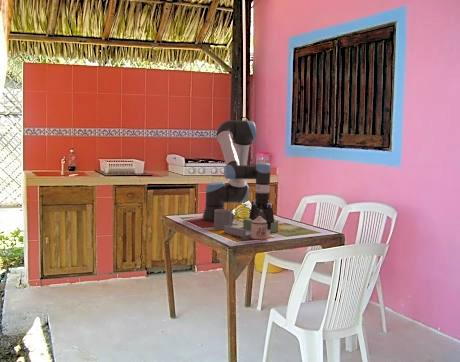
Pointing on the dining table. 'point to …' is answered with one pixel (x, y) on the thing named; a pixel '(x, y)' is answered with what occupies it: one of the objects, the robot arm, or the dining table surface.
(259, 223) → the teacup with lid
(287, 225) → the dining table surface
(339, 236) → the dining table surface
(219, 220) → the coffee mug
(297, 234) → the dining table surface
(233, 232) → the grey green blocky piece
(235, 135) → the robot arm
